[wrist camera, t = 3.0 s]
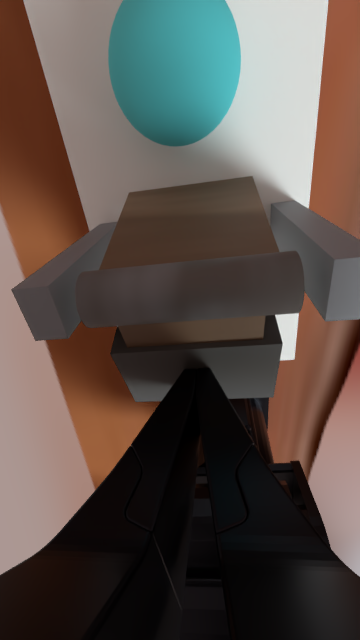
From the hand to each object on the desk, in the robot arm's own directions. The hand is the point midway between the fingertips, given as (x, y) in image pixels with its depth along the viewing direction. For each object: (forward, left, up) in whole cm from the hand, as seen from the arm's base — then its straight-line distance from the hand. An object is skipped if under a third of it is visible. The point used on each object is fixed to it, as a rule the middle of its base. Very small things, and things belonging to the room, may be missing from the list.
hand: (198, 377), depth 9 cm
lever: (+3, 0, -6) cm, 7 cm away
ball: (+9, 0, -4) cm, 10 cm away
